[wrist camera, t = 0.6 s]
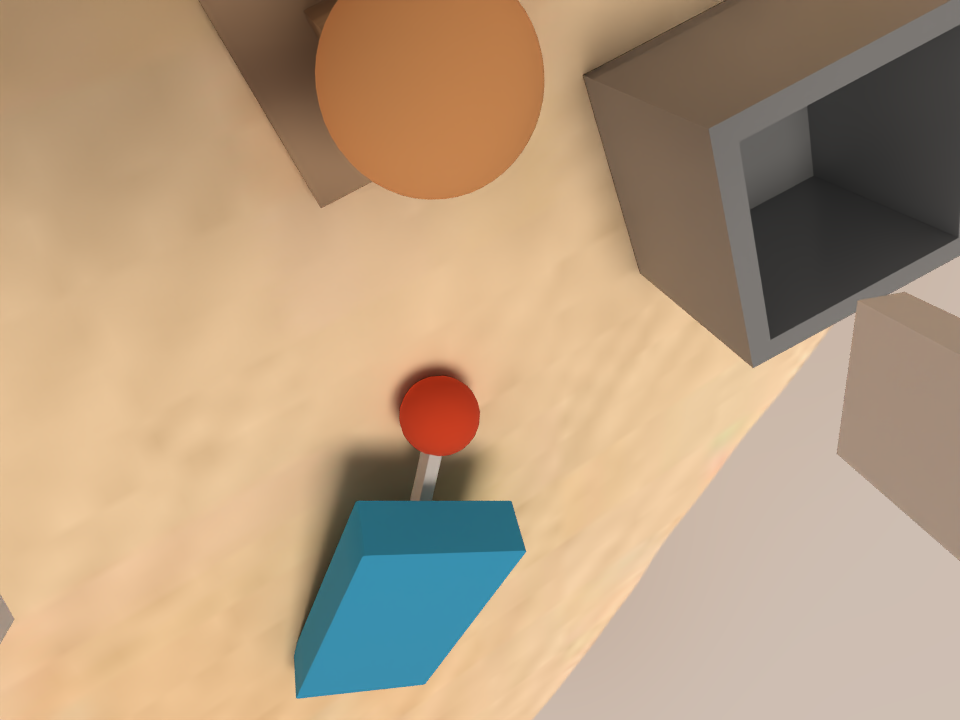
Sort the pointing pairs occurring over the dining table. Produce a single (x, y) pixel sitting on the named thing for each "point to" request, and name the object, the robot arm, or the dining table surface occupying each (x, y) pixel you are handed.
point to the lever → (408, 565)
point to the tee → (287, 82)
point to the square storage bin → (787, 159)
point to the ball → (430, 90)
